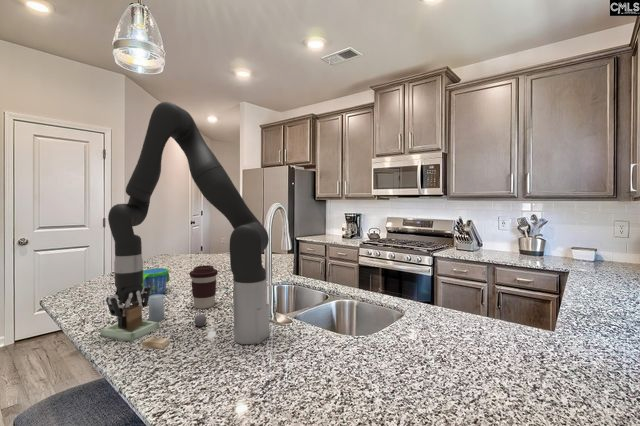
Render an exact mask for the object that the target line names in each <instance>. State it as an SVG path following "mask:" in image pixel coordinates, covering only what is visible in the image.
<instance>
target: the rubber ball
mask: <svg viewBox="0 0 640 426" xmlns="http://www.w3.org/2000/svg"><path fill="white" fill-rule="evenodd" d="M206 323H207V317H206V315H205V314H197V316H196V317H195V318H194V324H195V325H196V326H197V327H203V326H205V324H206Z"/></svg>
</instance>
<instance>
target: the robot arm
mask: <svg viewBox="0 0 640 426" xmlns="http://www.w3.org/2000/svg"><path fill="white" fill-rule="evenodd" d="M147 125H148V126H147V130H146V134H145V137H144V140H143V144H142V148H141V151H140V155H139V157H138V159H137V163H136V165H135V168H134V170H133V172H132V174H131V175H130V176H131V177H130V178H129V180H128V182H127V184H126V187H125V194H127V196H128V197H129V198H128V202H127V203H116V204H114V205H113V206H112V207H111V208H110V210H109V212H108V217H107V220H108V225H109V229H110V232H111V235H112V238H113V241H114V262H113V263H114V264H113V265H114V269H113V270H114V287H115V294H114V295H112V296H111V297H108V296H107V297H106V299H105V301H106V304H107V307H108V311H109V313H110V315H111V316H112V317H116V318H117V323H118V326H119V327H120V328H121V329H125V328H126V327H127V325H126V310H127V309H128V308H129V306H130V304H131V305H137V306H142V310H143V309H144V308H146V307H147V306H148V305H149V304H148V299H149V295H150V290H151V288H150V287H143V286H142V283H143V271H144V261H143V260H144V259H143V254H142V253H143V252H142V248H143V247H142V244H143V243H142V238H141V237H140V235H138V234H135V232H134V227H136V226H139V225H141V224H142V223H143V222H144V221H145V219H146V218H147V215H148V213H149V212H148V211H149V210H150V209H149V208H150V204H151V203H150V202H151V197H152V195H153V193H154V191H155V189H156V188H157V187H156V186H157V185H158V183H159V179H160V177H161V173H162V160H163V152H164V150H165V147H166V144H167V143H168V141H169V139H170V138H172V139H173V140H174V141H175V142H176V144H177V145H178V146H179V147H180V149H181V150H182V152H183V153H184V155H185V158H186V159H187V163H188V168H189V172H190V176H191V178H192V180H193V182H194V184H195V185H196V187H197V188H198V190H199V192H200V193H201V194H202V196H203V197H204V198H205V199H206V200H207V202H208V203H210V204H211V206H213V207H214V208H215V209H216V210H218V211H219V213H221V214H222V215H223V216H224V217H225V218H226V220H228V222H229V223H230V225H231V227H232V229H233V231H232V232H231V234H230V238H229V262H230V263H229V264H230V270H231V271H230V272H231V273H232V276H233V277H232V279H233V281H232V282H233V335H234V336H233V339H234V342H236V343H237V344H241V345H254V344H256V345H257V344H258V345H260V344H261V343H262V342H263V341H264V340H266V339H267V338H268V337H269V336H270V305H269V303H267V270H266V268H264V266H263V260H262V259H263V258H262V257H263V256H262V252H264V251H265V250H266V249H267V247H268V246H269V241H270V239H269V234H268V231H267V230H266V228H265V227H264V225H263V224H262V223H261V221H260V220H259V219H258V218H257V217H256V216H255V215H254V213H253V212H252V211H251V210H250V208H249V206H248V205H247V204H246V202H245V200H244V199H243V197H242V196H241V194H240V192H239V191H238V188H237V187H236V186H235V185H234V183H233V181H232V180H231V178H230V176H229V174H228V173H227V171H226V170H225V168H224V167H223V165H222V164H221V162H220V161H219V159H218V158H217V157H216V155H215V154H214V152H213V151H212V149H210V147H209V146H208V144H207V143H206V141H205V139H204V138H203V136H202V134H201V132H200V130H199V128H198V126H197V124H196V122H195V120H194V118H193V117H192V115H191V114H190V113H189V112H188V111H187V110H186V109H184V108H182V107H180V106H179V105H177V104H175V103H173V102H171V101H163V102H160V103H158V104H157V105H156V106H155V107H154V109H152V112H151V115H150V117H149V122H148V124H147ZM122 308H123V310H122V312H121V309H122Z"/></svg>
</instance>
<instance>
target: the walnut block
mask: <svg viewBox="0 0 640 426" xmlns="http://www.w3.org/2000/svg"><path fill="white" fill-rule="evenodd" d="M122 310H123V308H122V309H121V312H122ZM142 320H143V309H142V306H137V305H132V304H131V303H130V306H129V308H128V309H127V310H126V325H127V327H126V328H125V329H123V330H132V329H134V328H136V327H139V326H141V325H142ZM118 329H121V328H120V327H119V326H118Z"/></svg>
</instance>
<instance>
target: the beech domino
mask: <svg viewBox="0 0 640 426" xmlns="http://www.w3.org/2000/svg"><path fill="white" fill-rule="evenodd" d="M169 345H170V338H167V337H165V338H163V337H153V336H151V337H148V338H146V339H145V340H142V342H141V348H143V349H154V350H163V349H165V348H167V347H168V346H169Z"/></svg>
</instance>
